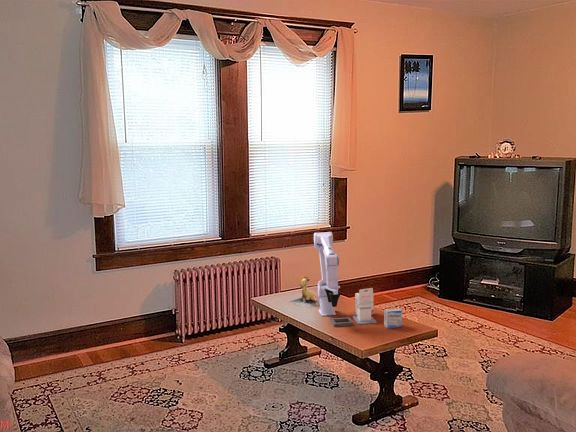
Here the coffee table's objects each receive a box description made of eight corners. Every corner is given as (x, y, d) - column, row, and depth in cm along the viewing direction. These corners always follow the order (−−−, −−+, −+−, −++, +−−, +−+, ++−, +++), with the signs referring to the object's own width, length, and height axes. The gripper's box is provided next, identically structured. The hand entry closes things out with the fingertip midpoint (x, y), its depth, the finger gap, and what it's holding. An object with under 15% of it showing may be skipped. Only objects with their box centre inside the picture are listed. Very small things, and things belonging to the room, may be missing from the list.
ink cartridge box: (369, 312, 303) (369, 285, 301) (373, 314, 298) (373, 287, 296) (355, 314, 300) (354, 287, 298) (359, 317, 295) (359, 289, 293)
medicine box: (387, 328, 277) (387, 311, 276) (383, 325, 282) (383, 309, 280) (402, 327, 279) (402, 310, 277) (398, 324, 283) (398, 307, 282)
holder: (330, 321, 289) (330, 318, 289) (349, 320, 291) (349, 317, 291) (334, 326, 282) (334, 323, 281) (353, 325, 283) (353, 322, 283)
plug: (357, 318, 291) (357, 305, 290) (368, 317, 292) (368, 304, 291) (359, 320, 288) (359, 307, 286) (371, 319, 288) (371, 306, 287)
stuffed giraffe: (288, 302, 324) (289, 275, 321) (311, 296, 336) (312, 270, 333) (307, 309, 312) (308, 281, 310) (330, 303, 324) (331, 276, 322)
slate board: (352, 317, 295) (352, 316, 295) (370, 316, 296) (370, 315, 296) (358, 324, 284) (358, 323, 284) (376, 323, 285) (376, 321, 285)
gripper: (343, 281, 279) (343, 308, 281) (336, 274, 293) (336, 299, 295) (329, 282, 277) (330, 309, 279) (322, 275, 291) (323, 300, 293)
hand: (332, 304), depth 287 cm, fingers open, 7 cm apart
